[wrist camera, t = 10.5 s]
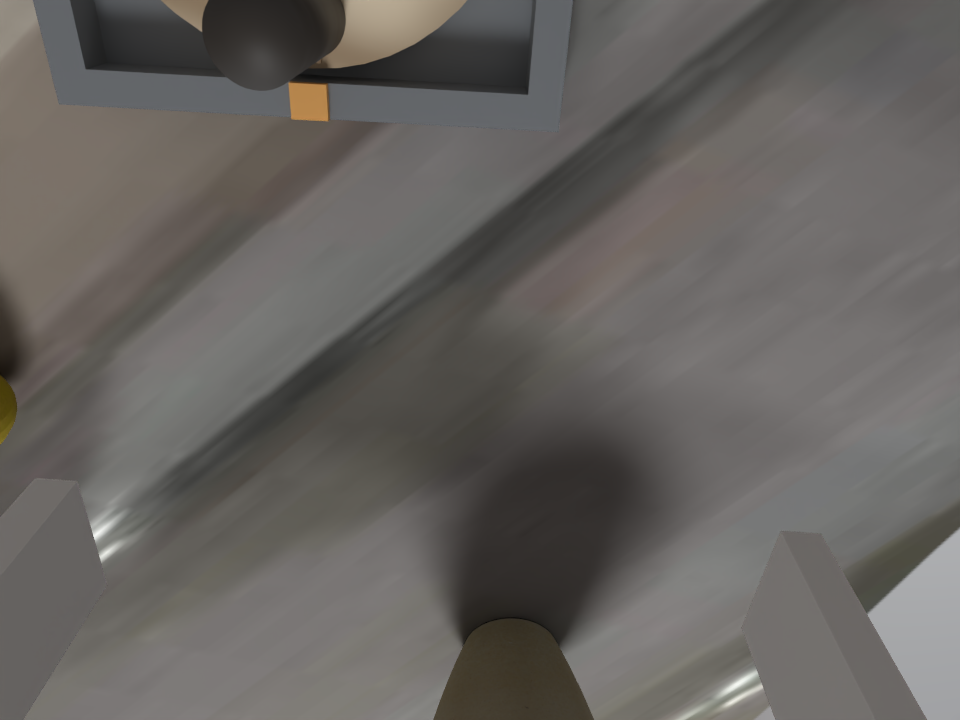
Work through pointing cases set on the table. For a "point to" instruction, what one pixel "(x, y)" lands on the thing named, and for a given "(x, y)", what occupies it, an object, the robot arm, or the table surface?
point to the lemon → (6, 408)
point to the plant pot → (512, 677)
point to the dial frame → (320, 91)
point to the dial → (306, 33)
